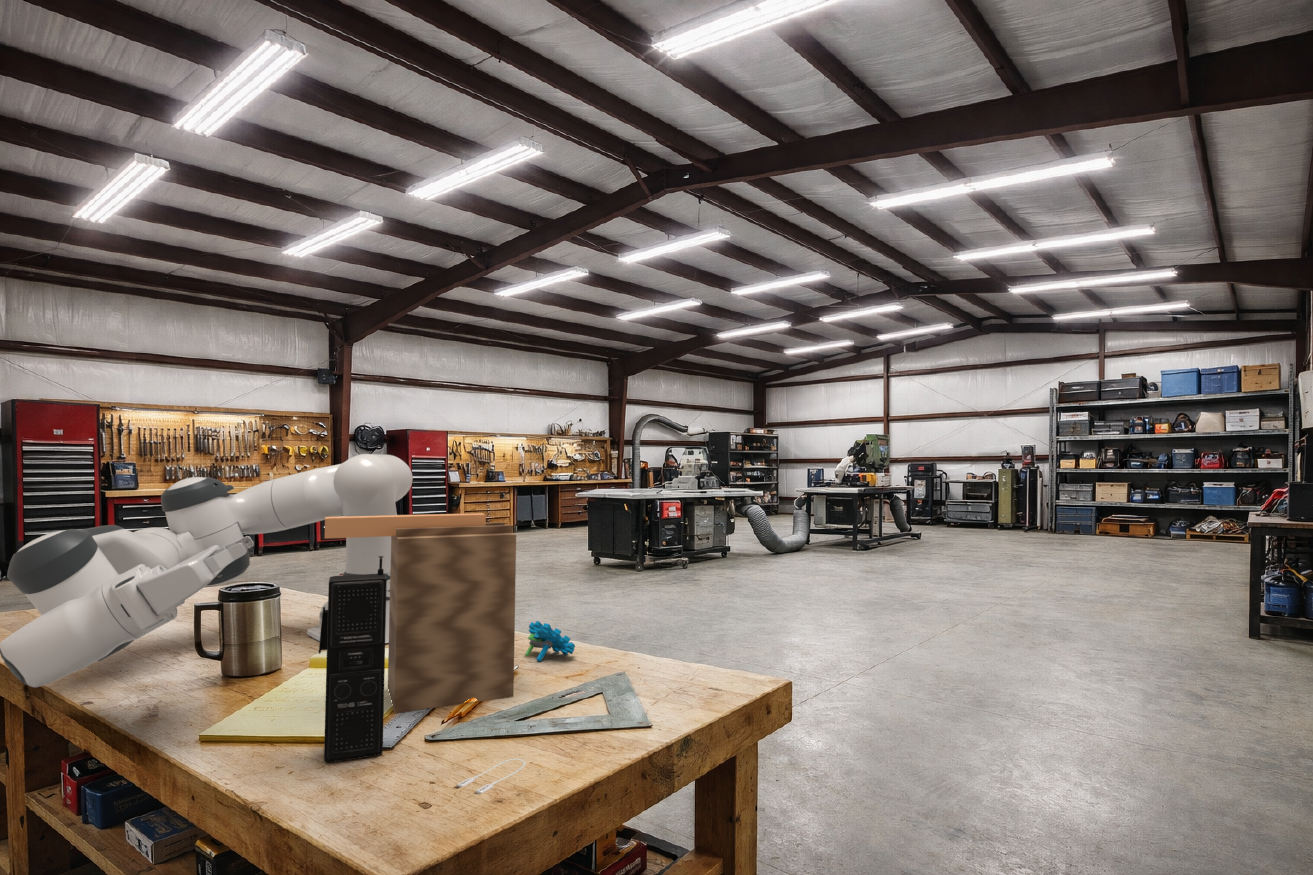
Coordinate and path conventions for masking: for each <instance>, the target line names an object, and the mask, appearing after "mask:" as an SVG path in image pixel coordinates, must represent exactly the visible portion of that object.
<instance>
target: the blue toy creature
mask: <svg viewBox="0 0 1313 875" xmlns="http://www.w3.org/2000/svg"><path fill="white" fill-rule="evenodd" d="M528 628H529V629H528V632H529V633H530V634H529V636H528V637H527V640H529V642H528V644H529V647H528V649H527V650H526V652H525V653H524V656H525V657H529V656H530V654H531V653H532V651H533V649H534V648H539V649H541V650H540V652H539V654H538V655H537V657H536V659H535V660H536V661H538V662H540V663H541V662H543V659H544V657H545V656H546V654H547V652H548V650H549V649H551V648H552V651H553V652H555V653H557V654H558V653H559V652H561V653H562V654H563V655H565V656H567V655H568V654H571V655H573V653H574V651H575V647H576V644H574V642H572V641H571V638H570V637H569V636H568V635H566V634H565V635H564V636H561V633H562V631H561V629H559V628H556V627H555V629H553V628H552V627H551V625H550V624H549V623H546V622H545V623H543V624H542V623H541V622H540V621H538V620H536V621H535V622H532V621H531V622H530V624H529V625H528ZM570 641H571V642H570Z"/></svg>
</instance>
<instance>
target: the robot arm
mask: <svg viewBox="0 0 1313 875" xmlns="http://www.w3.org/2000/svg"><path fill="white" fill-rule="evenodd" d="M412 484H413V473H412V470H411V468H410V466H409V465H408V464H407V463H406V462H405V461H404V460H402V459H401V458H399V457H397V456H395V455H393V454H378V453H377V454H375V453H361V454H357V455H354V456H353V457H349V458H347V459H346V461H344V462H342V463H338V464H335V465H334V464H333V465H328V466H322V467H317V468H314V469H310V470H309V469H308V470H306V471H301V472H298V473H297V472H296V473H294V474H290V475H286V476H282V477H278V478H274V479H270V480H267V481H264V482H261V483H258V484H255V485H253V486H251V487H247V488H246V489H244V490H241V491H240V492H237V493H235V494H231V493H230V491H233V490H234V489H235V486H233V485H232V484H225V483H224V482H222V481H221V480H219V479H217V478H213V477H209V476H204V477H203V476H193V477H187V478H183V479H181V480H179V481H177V482H175V483H173V484H172V485H171V486H169V487H168V488H166V489H165V490H164V491H163V492H162V494H161V495H160V503H161V509H162V512H163V513H165V517H166V522H167V525H168V529H167V528H165V527H159V526H158V527H146V528H141V529H139V530H135V531H130V530H128V529H125V528H124V527H121V526H119V525H116V524H107V525H106V524H105V525H99V526H94V527H89V528H82V529H74V528H70V529H69V528H68V529H66V530H57V531H53V532H50V533H47V534H44V535H41V536H40V537H37V538H35V539H32V540H31V541H29V542H28V543H26V544H25V545H23V546H22V547H20V548H19V549H18V550H17V552H14V554H13V555H12V557H11V559H10V561H9V565H8V569H7V574H6V578H7V579H8V580H9V581H10V582H11V583H12V584H13V585H14V586H15V587H16V588H17V589H18V590H19V591H20V592H21V593H22V594H24V595H25V596H26V597H27V599H28V601H30V603H31V604H32V605H33V606H34V608H35V609H36V610H37V611H38V613H39V614H40V616H38V617H36V618H35V619H33V620H31V621H29V622H28V623H25V625H23V626H22V627H20V628H19V629H17V630H16V631H13V633H11V634H10V635H8V636H7V637H5V638H4V639H3V640H2V641H0V657H1V659H2V660H3V662H4V664H5V666H6V667H7V668H8V670H9V671H10V672H11V673H12V675H13V676H14V677H15V678H16V679H17V680H18V681H20V683H22V684H24V685H25V686H29V687H31V688H39V687H42V686H45V685H49V684H50V683H53V682H56V681H57V680H60V679H62V678H65V677H67V676H70V675H73V673H76V672H78V671H80V670H83V669H84V668H87V667H88V666H90V665H92V664H94V663H96V662H100V661H103V660H104V659H107V658H108V657H110V656H112V655H114V654H115V653H117V652H119V651H121V650H122V649H125V648H126V647H128V646H129V645H131V643H133V642H134V641H135V640H138V639H140V638H142V637H143V636H145V635H146V634H149V633H151V632H153V631H155V630H156V629H159V628H161V627H162V626H163V625H165V624H168V623H170V622H171V621H173V620H175V619H176V618H177V617H178V607H180V606H181V605H184V604H185V601H187V600H188V598H190V597H192V596H194V595H195V594H196V593H198V592H200V591H201V590H203V588H205V587H206V586H215V585H223V584H225V583H228V582H231V581H233V580H235V579H236V578H238V577H240V575H242V574H244V573H245V572H246V571H247V570H248V568H249V566H250V565H251V564H250V563H251V560H250V559H251V558H250V552H249V549H251V548H253V547H254V545H255V544H254V542H255V541H254V540H252V538H251V536H248V535H260V534H261V535H262V534H269V533H276V532H282V531H286V530H289V529H290V530H291V529H294V528H298V527H302V526H306V525H311V524H314V523H317V522H322V521H325V517H345V516H387V515H398V513H397V506H396V502H398V501H399V500H401V499H403V497H404V496H406V495H407V493H408V492H409V491H410V489H411V487H412ZM244 535H246V536H244ZM345 541H346V542H345V554H346V555H345V571H344V572H343V573H339V574H338V576H343V575H362V574H378V569H379V564H380V558H379V556H384V557H383V558H382V569H384V573H383V574H386V579H387V588H386V630H385V644H389V612H390V570H391V536H381V537H352V538H345ZM323 607H325V610H328V601H326V602H325V603H324V604H323V605H322V606H321V609H320V612H319V614H318V615H319V617H318V618H319V625H317V626H314V627H311V628H308V629H307V631H306V635H307V636H309V637H312V638H313V639H314V640H316V641H319V642H320V633H321V623H322V613H323Z"/></svg>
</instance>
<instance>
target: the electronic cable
mask: <svg viewBox="0 0 1313 875" xmlns="http://www.w3.org/2000/svg"><path fill="white" fill-rule="evenodd" d="M510 761H520V762H522V763H523V764H522V766H521V767H519V768H518V769H517V770H516V771H514V772H511V773H510V774H507V775H506V776H505V777H502V778H501V779H499V780H496V781H494V782H492V783H490V784H489V783H487V784H485V785H483V786H481V787H479V788H478V789H477V790H475V792H474V793H473V794H474V795H480V794H483V793H486V792H487V791H489V790H491V789H493V788H494V786H495V785H496V784H498V783H499V782H501V781H503V780H505V779H507V778H509V777H512V776H513V775H514V774H516V773H517V772H519V771H521V770H522V769H523V768H524V767H525V766H526V762H525V760H524V759H521V758H511V759H507V760H502V762H499V763H498V764H496V765H495V766H492V767H491V768H489V769H487V770H486V771H485V770H484V772H482V773H480V774H477V775H474V776H473V777H468V778H466V779H464V780H462V781H461V782H458V783H457V784H456V785H455V786H454V787H453V789H457V790H458V789H461V788H464V787H466V786H467V785H470V784H472V783H473V782H475V781H476V779H477V778H479V777H480V776H482V775H484V774H487V773H488V772H489V771H491V770H493V769H495V768H496V767H498V766H500V765H502V764H504V763H506V762H510Z"/></svg>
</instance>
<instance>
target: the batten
mask: <svg viewBox="0 0 1313 875" xmlns="http://www.w3.org/2000/svg"><path fill="white" fill-rule="evenodd" d="M486 517H487V515H486V514H485V513H482V512H478V513H445V514H444V513H439V514H437V513H436V514H435V513H434V514H432V513H431V514H397V515H387V516H345V517H343V516H338V517H325V520H324V539H346V538H352V537H381V536H396V529H400V528H432V527H464V526H486V523H487V522H486V521H487V520H486Z"/></svg>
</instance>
